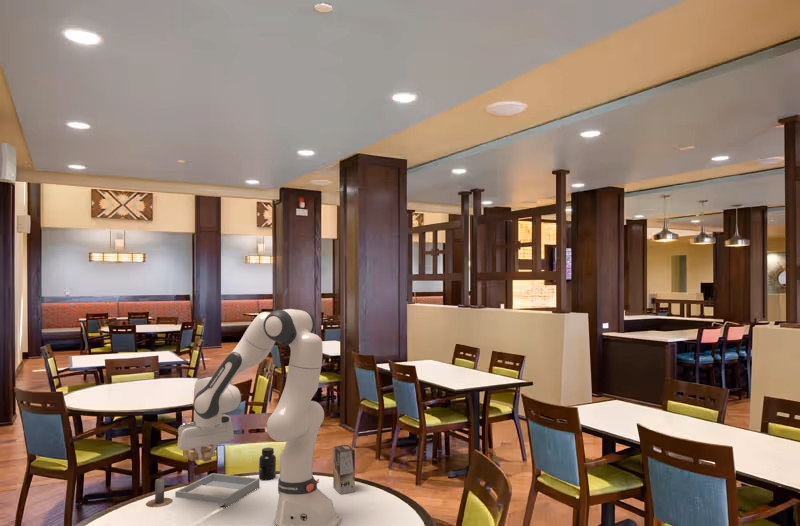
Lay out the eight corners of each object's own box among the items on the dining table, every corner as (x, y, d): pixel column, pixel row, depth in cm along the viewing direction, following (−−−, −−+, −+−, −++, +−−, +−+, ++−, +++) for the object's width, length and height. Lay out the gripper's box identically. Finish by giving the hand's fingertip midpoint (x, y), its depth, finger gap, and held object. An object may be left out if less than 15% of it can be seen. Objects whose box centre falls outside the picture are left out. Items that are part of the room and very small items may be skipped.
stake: (178, 503, 202) (178, 477, 202) (160, 512, 193) (161, 485, 194) (158, 500, 205) (158, 474, 205) (139, 509, 196) (140, 482, 197)
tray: (259, 487, 218) (259, 478, 219) (226, 508, 198) (226, 498, 198) (212, 481, 225) (212, 473, 225) (175, 501, 204) (175, 491, 204)
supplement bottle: (255, 479, 228) (256, 450, 228) (264, 474, 234) (264, 446, 235) (270, 481, 226) (270, 451, 226) (278, 476, 232) (279, 447, 233)
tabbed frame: (219, 458, 205) (219, 450, 205) (196, 463, 199) (196, 455, 199) (205, 451, 214) (205, 443, 214) (183, 456, 208) (183, 448, 208)
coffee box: (355, 492, 213) (355, 450, 214) (339, 494, 211) (340, 452, 212) (347, 484, 222) (347, 444, 223) (332, 487, 219) (332, 446, 220)
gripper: (181, 425, 195) (181, 465, 194) (235, 416, 209) (235, 453, 208) (174, 423, 199) (174, 461, 198) (228, 414, 213) (227, 450, 212)
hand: (206, 457), depth 203 cm, fingers closed on tabbed frame, 2 cm apart
